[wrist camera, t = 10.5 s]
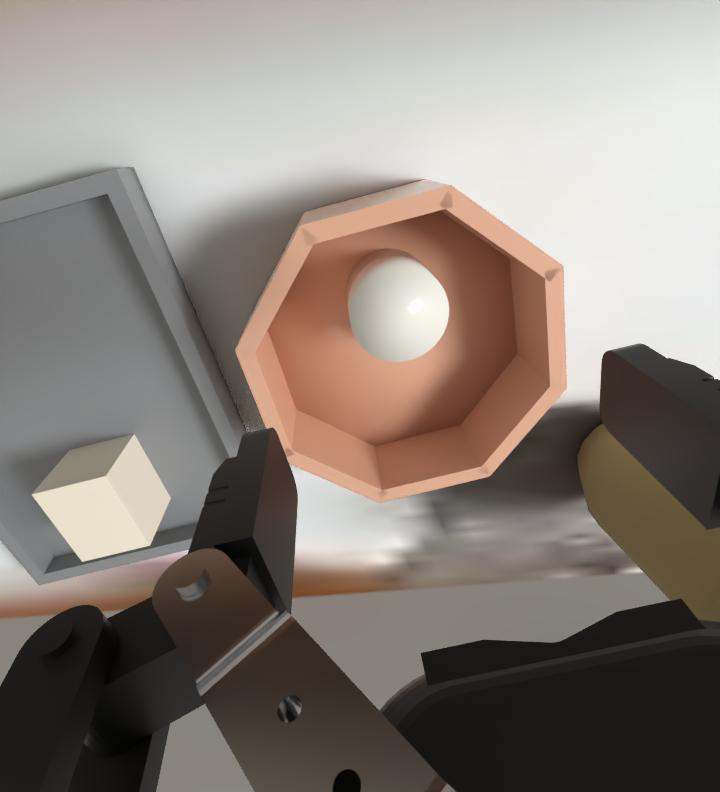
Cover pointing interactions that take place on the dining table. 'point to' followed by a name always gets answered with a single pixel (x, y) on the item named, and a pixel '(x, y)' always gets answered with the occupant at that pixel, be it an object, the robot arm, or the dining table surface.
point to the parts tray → (100, 363)
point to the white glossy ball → (395, 306)
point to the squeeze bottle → (651, 525)
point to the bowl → (418, 378)
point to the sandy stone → (104, 498)
